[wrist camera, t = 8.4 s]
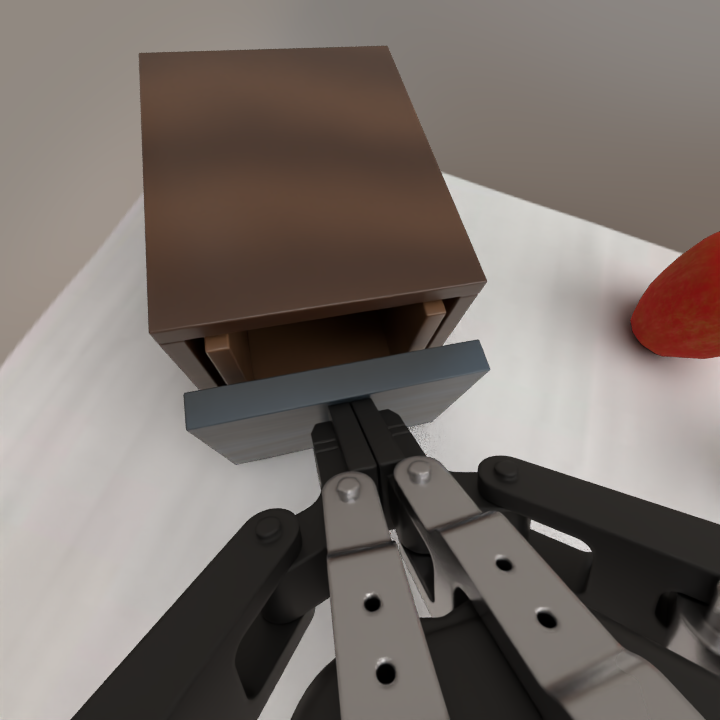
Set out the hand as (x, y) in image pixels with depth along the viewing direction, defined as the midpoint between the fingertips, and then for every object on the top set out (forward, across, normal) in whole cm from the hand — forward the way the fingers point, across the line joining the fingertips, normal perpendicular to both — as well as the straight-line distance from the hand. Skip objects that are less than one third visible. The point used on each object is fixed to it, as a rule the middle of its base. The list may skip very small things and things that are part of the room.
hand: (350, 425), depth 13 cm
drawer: (+9, 0, 0) cm, 9 cm away
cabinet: (+12, 0, -2) cm, 12 cm away
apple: (+7, -21, +3) cm, 23 cm away
